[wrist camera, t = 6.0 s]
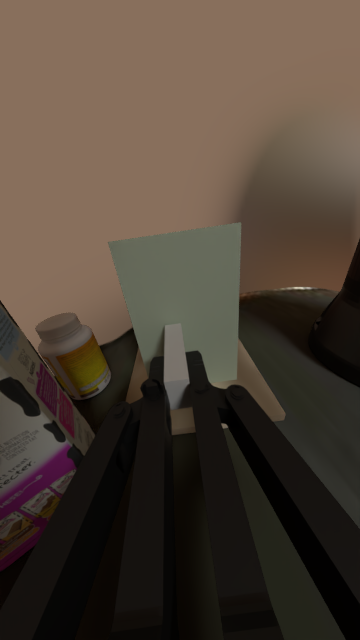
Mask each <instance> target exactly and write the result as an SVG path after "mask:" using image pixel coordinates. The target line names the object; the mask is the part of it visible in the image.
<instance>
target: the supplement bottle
mask: <svg viewBox="0 0 360 640" xmlns="http://www.w3.org/2000/svg"><path fill="white" fill-rule="evenodd" d="M35 329H36V331H37V333H38V335H39V336H40V338H41V339H42V341H41V343H40V344H39V347H38V351H39V353H40V355H41V356H42V358H43V359H44V361H45V362H46V363H47V365H48V366H49V368H50V369H51V371H52V372H53V374H54V375H55V376H56V378H57V379H58V381H59V382H60V383H61V385H62V386H63V388H64V389H65V391H66V392H67V393H68V395H69V396H70V397H71V398H73V399H76V400H84V399H88V398H91V397H93V396H95V395H97V394H98V393H100V392H101V391H102V390H103V389H104V388H105V387H106V386H107V385H108V383H109V381H110V378H111V372H110V369H109V367H108V365H107V362H106V360H105V358H104V356H103V354H102V352H101V349H100V347H99V345H98V343H97V341H96V339H95V336H94V334H93V332H92V331H91V329H90V328H89V327H88V326H86V325H81V324H80V321H79V320H78V318H77V316H76V314H74V313H63V314H59V315H56V316H53V317H50V318H48V319H46V320H44V321H42V322H41V323H40V324H38V325H37V326H36V328H35Z"/></svg>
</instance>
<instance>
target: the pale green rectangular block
mask: <svg viewBox="0 0 360 640" xmlns="http://www.w3.org/2000/svg"><path fill="white" fill-rule="evenodd" d="M108 244H109V248H110V251H111V254H112V258H113V261H114V264H115V268H116V271H117V275H118V278H119V281H120V285H121V288H122V292H123V295H124V298H125V302H126V305H127V308H128V312H129V315H130V318H131V322H132V325H133V329H134V332H135V336H136V339H137V342H138V346H139V349H140V352H141V356H142V359H143V363H144V366H145V369H146V373H147V376H148V378H149V370H150V362H151V361H152V359H153V357H159V356H164V346H165V325H171V324H178V323H181V327H182V334H183V341H184V347H185V352H190V351H197V350H198V351H199V352H200V353H201V355H202V359H203V362H204V366H205V370H206V373H207V377H208V380H209V382H210V383H215V382H222V381H229V380H236V379H237V355H238V319H239V283H240V248H241V223H234V224H227V225H220V226H214V227H207V228H200V229H193V230H187V231H180V232H174V233H167V234H160V235H153V236H146V237H140V238H133V239H126V240H119V241H113V242H108Z"/></svg>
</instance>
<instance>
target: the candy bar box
mask: <svg viewBox="0 0 360 640" xmlns="http://www.w3.org/2000/svg"><path fill="white" fill-rule="evenodd" d="M95 435H96V434H95V432H94V431H93V429H92V428H91V427H90V425H89V424H88V423H87V421H86V420H85V419H84V417H83V416H82V414H81V413H80V411H79V410H78V409H77V407H76V406H75V405H74V403H73V402H72V401H71V399H70V398H69V396H68V395H67V393H66V392H65V391H64V389H63V388H62V386H61V385H60V384H59V382H58V381H57V379H56V378H55V377H54V376H53V374H52V372H51V371H50V370H49V368H48V367H47V365H46V364H45V363H44V361H43V360H42V359H41V357H40V356H39V355H38V353H37V352H36V350H35V349H34V347H33V346H32V344H31V343H30V341H29V340H28V339H27V338H26V336H25V335H24V333H23V332H22V331H21V329H20V328H19V326H18V325H17V323H16V322H15V321H14V319H13V318H12V317H11V315H10V314H9V312H8V311H7V310H6V308H5V307H4V305H3V304H2V302H1V301H0V573H1V572H2V571H3V570H5V569H6V568H7V567H8V566H10V565H11V564H12V563H13V562H15V561H16V560H17V559H18V558H20V557H21V556H22V555H23V554H25V553H26V552H27V551H28V550H30V549H31V548H32V547H34V546H35V545H36V543H37V542H38V540H39V538H40V536H41V534H42V532H43V531H44V529H45V527H46V525H47V523H48V522H49V520H50V518H51V516H52V514H53V512H54V511H55V509H56V507H57V505H58V503H59V501H60V500H61V498H62V496H63V494H64V492H65V490H66V489H67V487H68V485H69V483H70V481H71V479H72V478H73V476H74V474H75V472H76V470H77V468H78V467H79V465H80V463H81V461H82V459H83V457H84V456H85V454H86V452H87V450H88V448H89V446H90V445H91V443H92V441H93V439H94V437H95Z"/></svg>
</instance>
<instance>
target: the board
mask: <svg viewBox="0 0 360 640" xmlns="http://www.w3.org/2000/svg"><path fill="white" fill-rule="evenodd" d="M147 379H148V376H147V373H146V369H145V366H144V363H143V359H142V356H141V352H140V349H138V353H137V357H136V361H135V365H134V369H133V373H132V377H131V381H130V385H129V389H128V393H127V397H126V402H128V403H129V404H131V403H133V402H135V401H137V400H139V399H141V398H142V397H143V395H142V392H141V389H140V387H141V384H142V383H143V382H144V381H145V380H147ZM211 384H212V385H213V386H215V387H218V388H223V389H227V387H228V386H230V385H234V384H236V385H241V386H243V387H244V388H245V389H247V390H248V392H249V393H250V394H251V395H252V397H253V398H254V399H255V400H256V402H257V403H258V404H259V405H260V407H261V408H262V409H263V410H264V411H265V413H266V414H267V415H268V416H269V418H270V419H271V420H272V421H273V422H274V421H282V420H284V418H285V415H286V414H285V412H284V410H283V409H282V407H281V406H280V404H279V402H278V401H277V399H276V398H275V396H274V394H273V393H272V391H271V390H270V388H269V386H268V385H267V383H266V382H265V380H264V378H263V377H262V375H261V374H260V372H259V370H258V369H257V367H256V366H255V364H254V363H253V361H252V359H251V358H250V356H249V355H248V353H247V351H246V350H245V348H244V347H243V345H242V343H241V342H240V340H239V339H238V355H237V379H236V380H229V381H222V382H215V383H211ZM170 415H171V419H172V435H178V434H186V433H193V432H196V431H195V424H194V416H193V409H192V407H190V408H183V409H176V410H171V408H170ZM221 424H222V427H223V428H228V426H227V424H223V423H221Z"/></svg>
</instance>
